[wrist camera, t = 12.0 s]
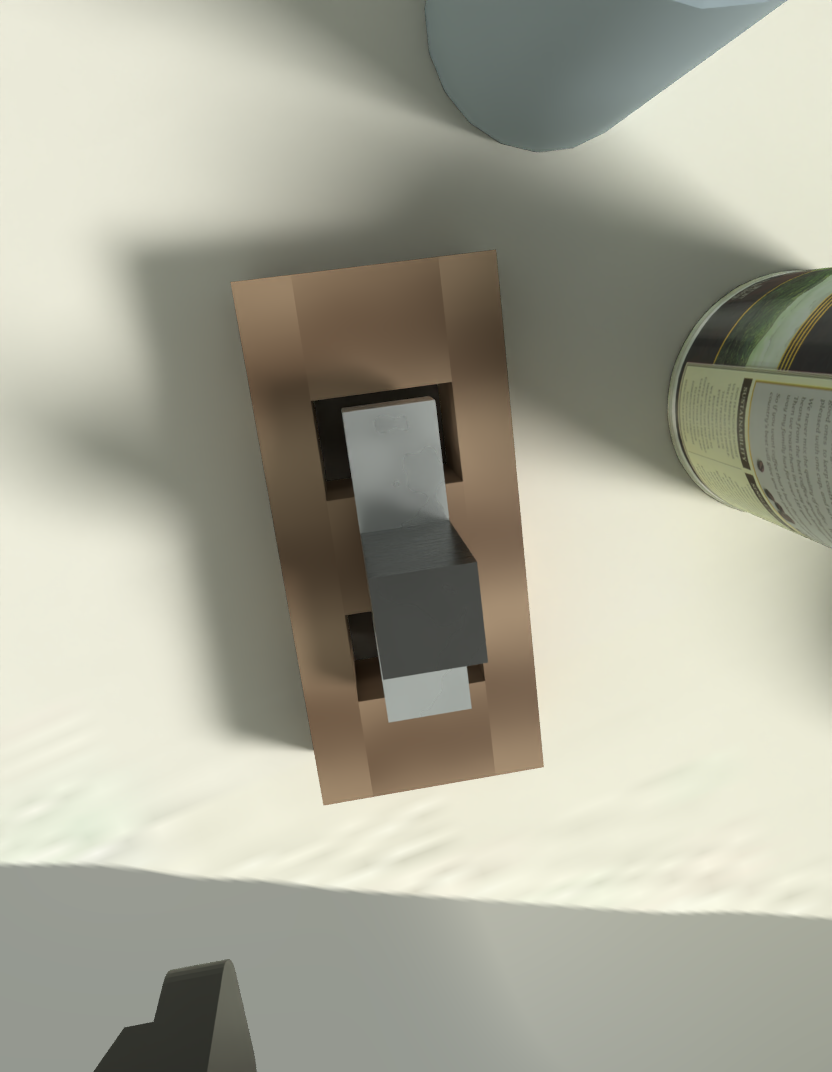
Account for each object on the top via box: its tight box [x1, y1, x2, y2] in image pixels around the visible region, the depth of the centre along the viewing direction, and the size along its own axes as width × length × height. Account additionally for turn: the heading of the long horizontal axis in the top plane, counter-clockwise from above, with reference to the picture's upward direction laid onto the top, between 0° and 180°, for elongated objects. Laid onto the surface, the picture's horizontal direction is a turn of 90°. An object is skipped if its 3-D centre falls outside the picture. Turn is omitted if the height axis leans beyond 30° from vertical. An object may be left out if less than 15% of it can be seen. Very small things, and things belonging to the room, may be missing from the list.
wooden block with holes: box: [231, 250, 544, 805], centre depth 31 cm, size 20×9×4 cm, turn 7°
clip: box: [341, 396, 488, 722], centre depth 27 cm, size 11×3×12 cm, turn 7°
